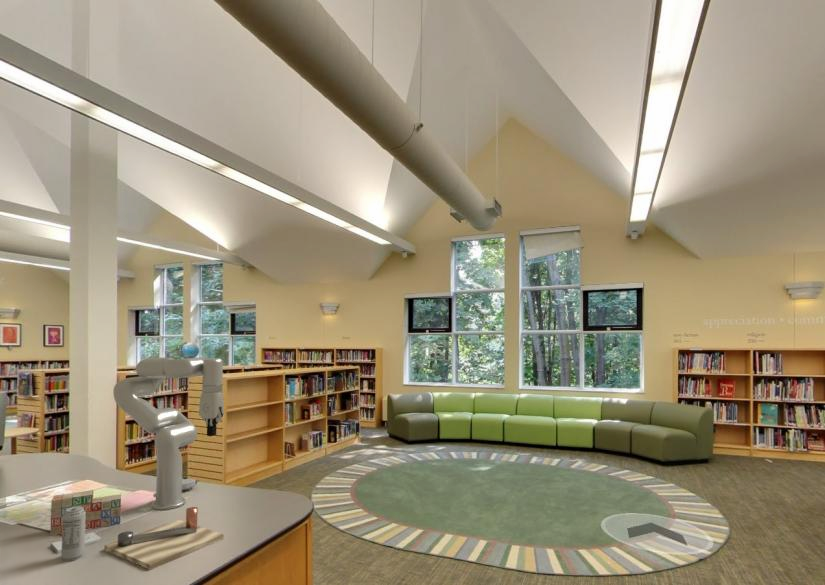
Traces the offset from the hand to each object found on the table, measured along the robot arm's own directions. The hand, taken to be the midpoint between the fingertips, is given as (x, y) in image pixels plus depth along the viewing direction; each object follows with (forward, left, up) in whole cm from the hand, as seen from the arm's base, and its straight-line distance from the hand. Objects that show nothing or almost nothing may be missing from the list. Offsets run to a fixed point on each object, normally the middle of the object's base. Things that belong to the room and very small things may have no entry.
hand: (211, 435), depth 203 cm
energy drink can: (-1, -49, -29) cm, 57 cm away
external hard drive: (-12, -43, -30) cm, 54 cm away
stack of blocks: (-24, -34, -30) cm, 51 cm away
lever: (+12, -28, -27) cm, 41 cm away
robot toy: (-35, +10, -30) cm, 47 cm away
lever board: (+15, -28, -29) cm, 43 cm away
